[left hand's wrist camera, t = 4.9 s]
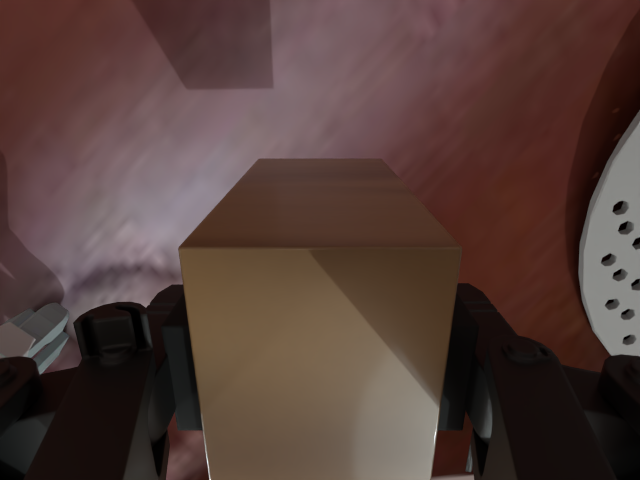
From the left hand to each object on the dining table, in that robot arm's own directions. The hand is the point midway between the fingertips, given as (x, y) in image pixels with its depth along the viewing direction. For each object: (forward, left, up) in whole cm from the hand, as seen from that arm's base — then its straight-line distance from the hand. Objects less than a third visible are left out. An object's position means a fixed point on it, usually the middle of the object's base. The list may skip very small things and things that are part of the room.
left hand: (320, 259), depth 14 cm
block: (0, 0, -2) cm, 2 cm away
